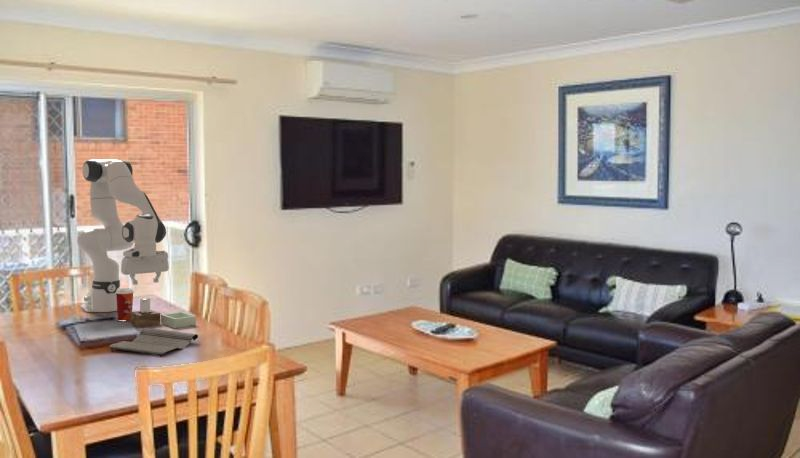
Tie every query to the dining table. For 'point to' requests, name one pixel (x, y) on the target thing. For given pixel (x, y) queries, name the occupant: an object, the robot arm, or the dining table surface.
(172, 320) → the tray
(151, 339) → the mat
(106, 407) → the dining table surface
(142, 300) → the steel pin
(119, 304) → the paper cup
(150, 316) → the socket block
